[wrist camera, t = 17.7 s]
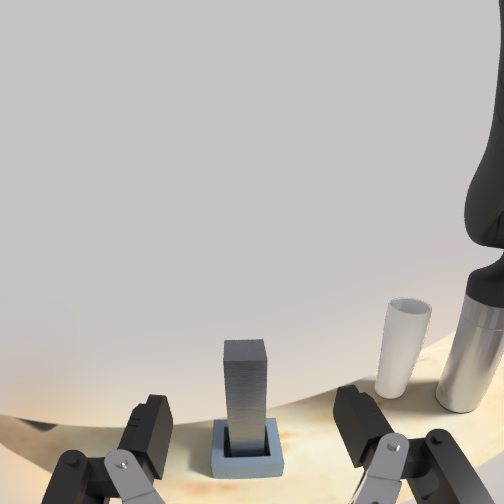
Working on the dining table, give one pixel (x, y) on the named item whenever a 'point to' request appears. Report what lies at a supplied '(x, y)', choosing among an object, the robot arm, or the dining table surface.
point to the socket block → (246, 465)
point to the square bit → (246, 395)
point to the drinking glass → (401, 344)
